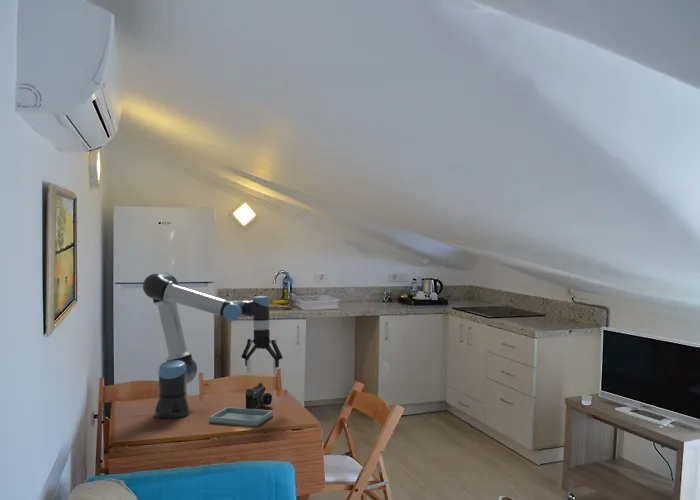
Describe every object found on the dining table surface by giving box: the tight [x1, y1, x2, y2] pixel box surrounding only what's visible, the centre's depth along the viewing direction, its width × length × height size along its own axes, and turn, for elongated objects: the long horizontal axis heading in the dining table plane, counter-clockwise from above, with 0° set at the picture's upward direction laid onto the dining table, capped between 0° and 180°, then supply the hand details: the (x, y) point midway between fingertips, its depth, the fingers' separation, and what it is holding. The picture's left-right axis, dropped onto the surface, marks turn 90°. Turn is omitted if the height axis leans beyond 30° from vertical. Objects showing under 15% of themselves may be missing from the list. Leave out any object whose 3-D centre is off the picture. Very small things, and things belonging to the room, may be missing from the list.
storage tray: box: [208, 406, 274, 428], centre depth 259 cm, size 23×17×2 cm
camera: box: [245, 382, 273, 409], centre depth 280 cm, size 18×9×10 cm, turn 168°
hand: (262, 373), depth 280 cm, fingers open, 13 cm apart
